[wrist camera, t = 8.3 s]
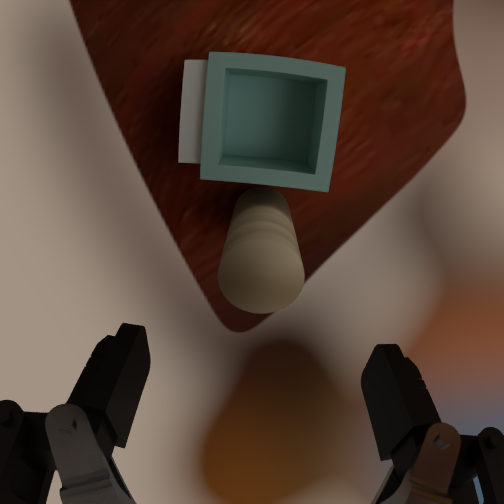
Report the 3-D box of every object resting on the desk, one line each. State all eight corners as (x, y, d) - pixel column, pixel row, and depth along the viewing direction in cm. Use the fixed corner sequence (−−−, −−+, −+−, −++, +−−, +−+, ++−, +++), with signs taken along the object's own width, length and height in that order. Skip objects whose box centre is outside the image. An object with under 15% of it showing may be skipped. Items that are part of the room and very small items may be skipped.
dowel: (235, 184, 21) (218, 235, 13) (292, 188, 21) (311, 243, 13) (232, 235, 23) (217, 309, 15) (285, 240, 23) (297, 315, 15)
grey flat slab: (198, 68, 17) (184, 59, 14) (219, 68, 17) (209, 60, 14) (192, 151, 20) (178, 162, 16) (212, 152, 20) (202, 163, 16)
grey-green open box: (219, 63, 17) (209, 52, 13) (327, 75, 17) (345, 67, 13) (211, 164, 20) (199, 179, 16) (314, 174, 21) (328, 192, 17)
